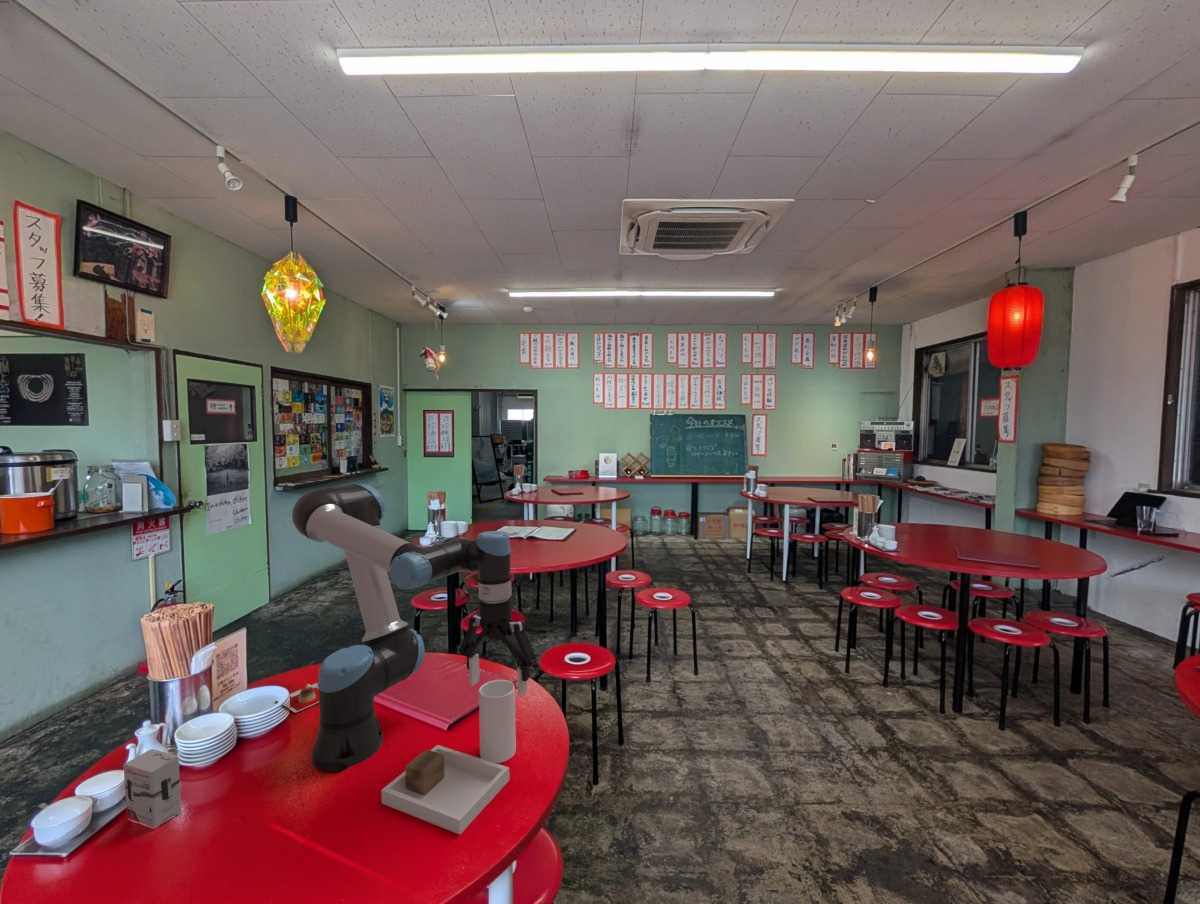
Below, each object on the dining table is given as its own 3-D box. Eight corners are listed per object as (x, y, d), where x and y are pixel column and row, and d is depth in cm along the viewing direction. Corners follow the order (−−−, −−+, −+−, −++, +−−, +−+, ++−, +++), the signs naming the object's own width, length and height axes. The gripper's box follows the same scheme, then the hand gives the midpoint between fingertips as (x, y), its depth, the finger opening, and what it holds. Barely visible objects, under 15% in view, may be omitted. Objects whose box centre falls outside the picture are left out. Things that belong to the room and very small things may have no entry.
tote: (381, 807, 101) (381, 790, 100) (437, 759, 115) (437, 744, 115) (460, 838, 92) (459, 820, 92) (509, 783, 107) (509, 767, 107)
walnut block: (406, 789, 104) (405, 765, 104) (426, 771, 110) (426, 749, 110) (424, 795, 102) (423, 772, 102) (444, 777, 108) (443, 755, 108)
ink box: (124, 821, 98) (122, 762, 97) (154, 803, 102) (151, 747, 102) (154, 831, 95) (151, 771, 95) (182, 812, 100) (180, 755, 99)
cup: (519, 745, 120) (518, 680, 120) (510, 767, 112) (509, 698, 112) (486, 743, 121) (485, 679, 121) (475, 765, 113) (473, 696, 112)
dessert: (295, 716, 135) (294, 699, 135) (274, 704, 141) (274, 687, 141) (338, 697, 145) (338, 680, 145) (317, 686, 151) (317, 670, 151)
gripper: (442, 597, 117) (445, 685, 118) (532, 610, 107) (535, 706, 107) (463, 588, 124) (466, 672, 125) (549, 599, 114) (552, 690, 114)
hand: (498, 688), depth 116 cm, fingers open, 13 cm apart
